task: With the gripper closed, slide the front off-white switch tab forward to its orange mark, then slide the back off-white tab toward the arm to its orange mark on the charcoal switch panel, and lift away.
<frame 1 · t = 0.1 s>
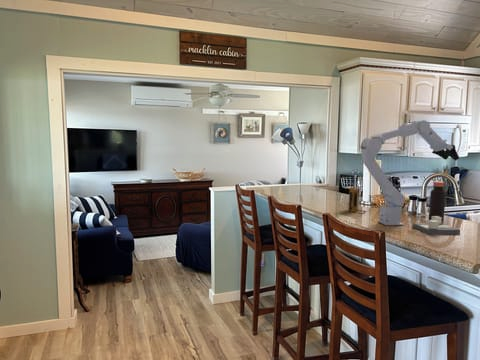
hand: (452, 158, 177), 32 cm above the countertop, tool tilted 50°, fingers open, 7 cm apart
tab back: (436, 220, 170), point 4 cm above the countertop, slide at 7.0 cm
switch panel: (435, 230, 166), on the countertop
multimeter: (358, 211, 209), on the countertop
tab front: (433, 224, 161), point 4 cm above the countertop, slide at 0.0 cm
bottle: (435, 221, 187), on the countertop
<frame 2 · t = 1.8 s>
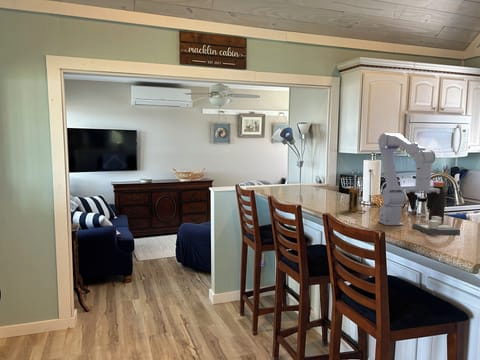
hand: (420, 209, 159), 10 cm above the countertop, tool pointing down, fingers open, 7 cm apart
nothing on the countertop moved.
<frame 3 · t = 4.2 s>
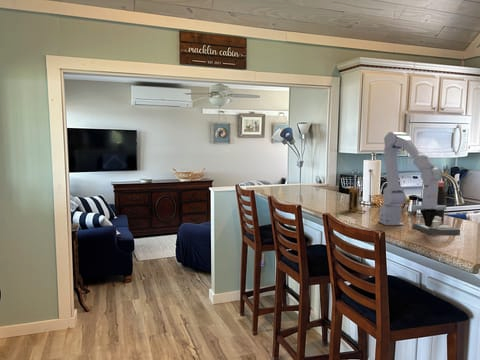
hand: (427, 226, 160), 3 cm above the countertop, tool pointing down, fingers closed
tab front: (434, 224, 161), point 4 cm above the countertop, slide at 0.2 cm, touching gripper
everything else where it was.
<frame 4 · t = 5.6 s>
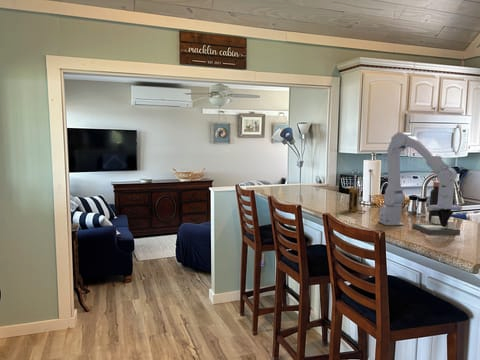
hand: (443, 226, 161), 3 cm above the countertop, tool pointing down, fingers closed
tab front: (449, 224, 161), point 4 cm above the countertop, slide at 7.1 cm, touching gripper
everything else where it was.
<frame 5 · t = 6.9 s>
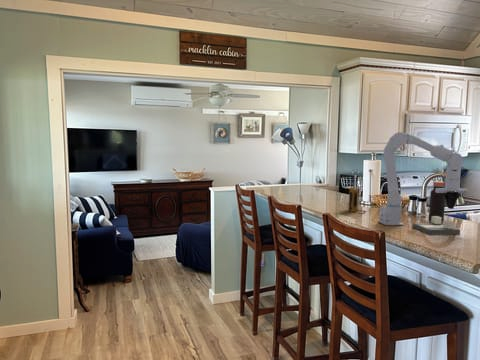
hand: (450, 208, 170), 9 cm above the countertop, tool pointing down, fingers closed
tab front: (448, 224, 161), point 4 cm above the countertop, slide at 7.1 cm
everything else where it was.
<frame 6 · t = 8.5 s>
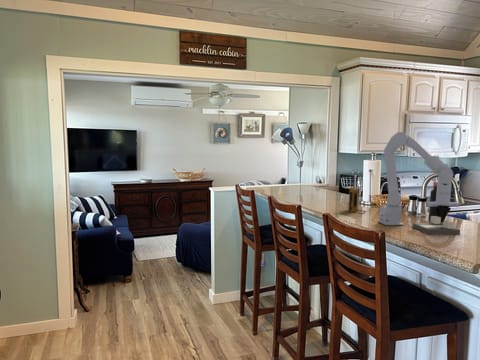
hand: (441, 221, 170), 3 cm above the countertop, tool pointing down, fingers closed
tab back: (435, 220, 170), point 4 cm above the countertop, slide at 6.6 cm, touching gripper
everything else where it was.
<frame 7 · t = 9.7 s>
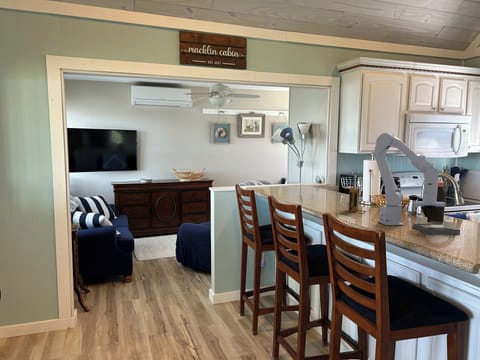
hand: (427, 221, 170), 3 cm above the countertop, tool pointing down, fingers closed
tab back: (422, 219, 170), point 4 cm above the countertop, slide at 0.2 cm, touching gripper
everything else where it was.
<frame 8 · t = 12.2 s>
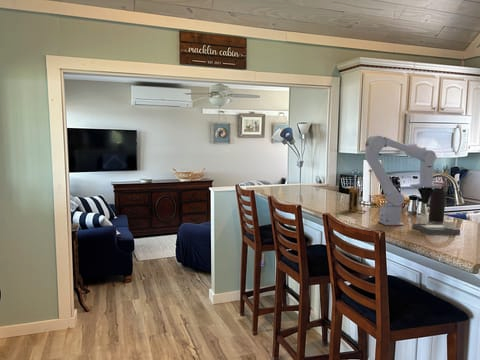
hand: (425, 203, 177), 10 cm above the countertop, tool pointing down, fingers closed
tab back: (422, 219, 170), point 4 cm above the countertop, slide at 0.1 cm
everything else where it was.
at the end: tab front slide at 7.1 cm; tab back slide at 0.1 cm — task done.
